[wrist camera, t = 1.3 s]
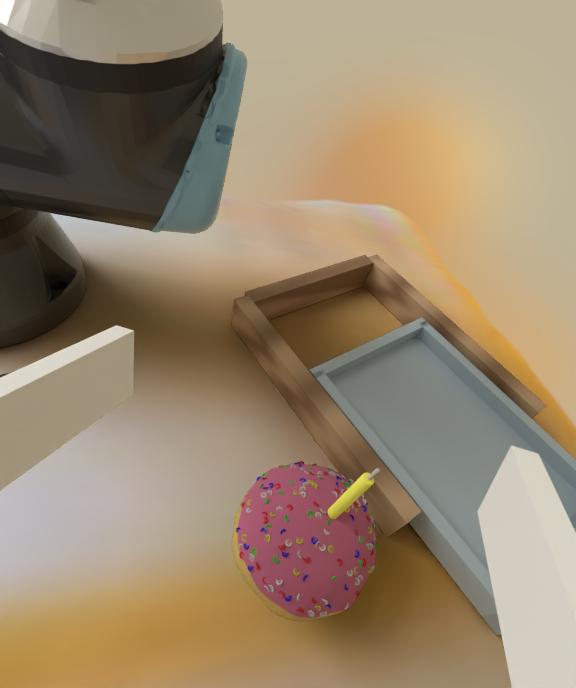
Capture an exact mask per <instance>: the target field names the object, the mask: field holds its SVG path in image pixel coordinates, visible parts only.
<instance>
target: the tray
mask: <svg viewBox="0 0 576 688" xmlns="http://www.w3.org/2000/svg"><path fill="white" fill-rule="evenodd" d="M309 372H310V373H311V374H312V375H313V377H314V378H315V379H316V380H317V382H318V383H319V384H320V385H321V387H322V388H323V389H324V390H325V392H326V393H327V394H328V395H329V397H330V398H331V399H332V400H333V401H334V403H335V404H336V405H337V406H338V408H339V409H340V410H341V411H342V413H343V414H344V415H345V416H346V418H347V419H348V420H349V421H350V423H351V424H352V425H353V426H354V428H355V429H356V430H357V431H358V433H359V434H360V435H361V436H362V438H363V439H364V440H365V441H366V443H367V444H368V445H369V446H370V447H371V449H372V450H373V451H374V452H375V454H376V455H377V456H378V457H379V459H380V460H381V461H382V462H383V464H384V465H385V466H386V467H387V469H388V470H389V471H390V472H391V474H392V475H393V476H394V477H395V479H396V480H397V481H398V482H399V484H400V485H401V486H402V487H403V489H404V490H405V491H406V492H407V493H408V495H409V496H410V497H411V498H412V500H413V501H414V502H415V503H416V505H417V506H418V507H419V508H420V510H421V512H420V513H419V514H418V515H417V516H415V517H414V518H413V519H412V520H411V521H410V522H409V523H410V525H411V526H412V527H413V529H414V530H415V531H416V532H417V534H418V535H419V536H420V538H421V539H422V540H423V541H424V543H425V544H426V545H427V547H428V548H429V549H430V550H431V552H432V553H433V554H434V556H435V557H436V558H437V559H438V561H439V562H440V563H441V565H442V566H443V567H444V569H445V570H446V571H447V572H448V574H449V575H450V576H451V578H452V579H453V580H454V581H455V583H456V584H457V585H458V587H459V588H460V589H461V590H462V592H463V593H464V594H465V596H466V597H467V598H468V599H469V601H470V602H471V603H472V605H473V606H474V607H475V608H476V610H477V611H478V612H479V614H480V615H481V616H482V618H483V619H484V620H485V621H486V623H487V624H488V625H489V627H490V628H491V629H492V630H493V632H494V633H495V634H496V635H501V629H500V624H499V619H498V614H497V609H496V604H495V599H494V594H493V589H492V584H491V579H490V573H489V568H488V563H487V558H486V553H485V548H484V543H483V538H482V533H481V528H480V522H479V517H478V512H477V511H478V509H479V507H480V506H481V504H482V502H483V500H484V498H485V496H486V494H487V492H488V490H489V488H490V486H491V484H492V482H493V480H494V478H495V476H496V474H497V472H498V470H499V468H500V466H501V464H502V462H503V461H504V459H505V457H506V455H507V453H508V451H509V449H510V447H511V446H515V447H518V448H521V449H524V450H528V451H531V452H534V453H538V454H539V456H540V458H541V460H542V462H543V464H544V467H545V469H546V471H547V473H548V475H549V477H550V479H551V481H552V484H553V486H554V488H555V490H556V492H557V494H558V496H559V498H560V501H561V503H562V505H563V507H564V509H565V511H566V513H567V515H568V517H569V520H570V522H571V524H572V526H573V528H574V530H575V532H576V459H575V458H574V457H573V456H571V455H570V454H569V453H568V452H567V451H566V450H565V449H564V448H563V447H562V446H561V445H560V444H558V443H557V442H556V441H555V440H554V439H553V438H552V437H551V436H550V435H549V434H548V433H547V432H546V431H544V430H543V429H542V428H541V427H540V426H539V425H538V424H537V423H536V422H535V421H534V420H533V419H531V418H530V417H529V416H528V415H527V414H526V413H525V412H524V411H523V410H522V409H521V408H520V407H518V406H517V405H516V404H515V403H514V402H513V401H512V400H511V399H510V398H509V397H508V396H507V395H506V394H504V393H503V392H502V391H501V390H500V389H499V388H498V387H497V386H496V385H495V384H494V383H493V382H491V381H490V380H489V379H488V378H487V377H486V376H485V375H484V374H483V373H482V372H481V371H480V370H478V369H477V368H476V367H475V366H474V365H473V364H472V363H471V362H470V361H469V360H468V359H467V358H466V357H464V356H463V355H462V354H461V353H460V352H459V351H458V350H457V349H456V348H455V347H454V346H453V345H451V344H450V343H449V342H448V341H447V340H446V339H445V338H444V337H443V336H442V335H441V334H440V333H438V332H437V331H436V330H435V329H434V328H433V327H432V326H431V325H430V324H429V323H428V322H427V321H426V320H424V319H423V318H419V319H417V320H415V321H413V322H411V323H409V324H407V325H404V326H402V327H400V328H398V329H396V330H394V331H391V332H389V333H387V334H385V335H383V336H381V337H379V338H376V339H374V340H372V341H370V342H368V343H366V344H363V345H361V346H359V347H357V348H355V349H353V350H350V351H348V352H346V353H344V354H342V355H340V356H338V357H335V358H333V359H331V360H329V361H327V362H325V363H322V364H320V365H318V366H316V367H314V368H312V369H310V370H309Z"/></svg>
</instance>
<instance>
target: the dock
mask: <svg viewBox="0 0 576 688" xmlns="http://www.w3.org/2000/svg"><path fill="white" fill-rule="evenodd" d="M362 286H364V287H365V288H366V289H367V290H368V291H369V292H370V293H371V294H372V295H373V296H374V297H375V298H376V299H377V300H379V301H380V302H381V303H382V304H383V305H384V306H385V307H386V308H387V309H388V310H389V311H390V312H391V313H392V314H393V315H394V316H395V317H396V318H397V319H398V320H399V321H400V322H401V323H402V324H403V325H407V324H409V323H411V322H413V321H415V320H417V319H419V318H423V319H424V320H426V321H427V322H428V323H429V324H430V325H431V326H432V327H433V328H434V329H435V330H436V331H437V332H438V333H440V334H441V335H442V336H443V337H444V338H445V339H446V340H447V341H448V342H449V343H450V344H451V345H453V346H454V347H455V348H456V349H457V350H458V351H459V352H460V353H461V354H462V355H463V356H464V357H466V358H467V359H468V360H469V361H470V362H471V363H472V364H473V365H474V366H475V367H476V368H477V369H478V370H480V371H481V372H482V373H483V374H484V375H485V376H486V377H487V378H488V379H489V380H490V381H491V382H493V383H494V384H495V385H496V386H497V387H498V388H499V389H500V390H501V391H502V392H503V393H504V394H506V395H507V396H508V397H509V398H510V399H511V400H512V401H513V402H514V403H515V404H516V405H517V406H518V407H520V408H521V409H522V410H523V411H524V412H525V413H526V414H527V415H528V416H529V417H530V418H533V417H534V416H535V415H537V414H538V413H539V412H540V411H542V410H543V409H544V408H545V407H546V406H547V405H546V404H545V403H543V402H542V401H541V400H540V399H539V398H538V397H537V396H536V395H534V394H533V393H532V392H531V391H530V390H529V389H528V388H527V387H525V386H524V385H523V384H522V383H521V382H520V381H519V380H518V379H516V378H515V377H514V376H513V375H512V374H511V373H510V372H509V371H507V370H506V369H505V368H504V367H503V366H502V365H501V364H500V363H498V362H497V361H496V360H495V359H494V358H493V357H492V356H491V355H489V354H488V353H487V352H486V351H485V350H484V349H483V348H482V347H480V346H479V345H478V344H477V343H476V342H475V341H474V340H473V339H471V338H470V337H469V336H468V335H467V334H466V333H465V332H464V331H462V330H461V329H460V328H459V327H458V326H457V325H456V324H455V323H453V322H452V321H451V320H450V319H449V318H448V317H447V316H446V315H444V314H443V313H442V312H441V311H440V310H439V309H438V308H437V307H435V306H434V305H433V304H432V303H431V302H430V301H429V300H428V299H426V298H425V297H424V296H423V295H422V294H421V293H420V292H419V291H417V290H416V289H415V288H414V287H413V286H412V285H411V284H409V283H408V282H407V281H406V280H405V279H404V278H403V277H402V276H400V275H399V274H398V273H397V272H396V271H395V270H394V269H393V268H391V267H390V266H389V265H388V264H387V263H386V262H385V261H384V260H382V259H381V258H380V257H379V256H378V255H374V256H371V257H367V256H366V255H363V256H360V257H357V258H354V259H350V260H347V261H344V262H341V263H337V264H334V265H331V266H328V267H324V268H321V269H318V270H315V271H311V272H308V273H305V274H302V275H298V276H295V277H292V278H289V279H285V280H282V281H279V282H276V283H273V284H269V285H266V286H263V287H260V288H256V289H253V290H250V291H247V292H245V296H244V297H241V298H238V299H234V305H233V314H232V323H231V325H232V327H233V328H234V330H235V331H236V332H237V334H238V335H239V336H240V338H241V339H242V340H243V342H244V343H245V345H246V346H247V347H248V349H249V350H250V351H251V353H252V354H253V356H254V357H255V358H256V360H257V361H258V362H259V364H260V365H261V366H262V368H263V369H264V371H265V372H266V373H267V375H268V376H269V377H270V379H271V380H272V381H273V383H274V384H275V386H276V387H277V388H278V390H279V391H280V392H281V394H282V395H283V396H284V398H285V399H286V401H287V402H288V403H289V405H290V406H291V407H292V409H293V410H294V411H295V413H296V414H297V416H298V417H299V418H300V420H301V421H302V422H303V424H304V425H305V426H306V428H307V429H308V431H309V432H310V433H311V435H312V436H313V437H314V439H315V440H316V441H317V443H318V444H319V446H320V447H321V448H322V450H323V451H324V452H325V454H326V455H327V456H328V458H329V459H330V461H331V462H332V463H333V465H334V466H335V467H336V469H337V470H338V471H339V473H340V474H341V476H342V475H345V476H346V477H347V479H346V480H348V481H349V480H350V479H351V480H353V481H354V483H355V482H356V480H357V479H358V478H359V477H360V476H361V475H362V474H364V473H370V474H371V473H372V472H373V471H374V470H375V469H377V468H379V469H380V472H379V473H378V474H376V475H375V476H374V483H373V485H372V486H371V487H369V488H368V489H367V490H366V491H365V492H364V493H363V495H364V499H365V500H366V502H367V503H368V505H367V507H368V510H369V512H370V514H371V516H372V517H373V518H374V521H375V522H376V523H377V525H378V526H379V527H380V529H381V530H382V532H383V533H384V534H385V536H386V537H387V538H388V537H389V536H390V535H392V534H393V533H395V532H396V531H397V530H399V529H400V528H402V527H403V526H404V525H406V524H407V523H408V522H410V521H411V520H412V519H413V518H414V517H415V516H417V515H418V514H419V513H420V512H421V510H420V508H419V507H418V506H417V505H416V503H415V502H414V501H413V500H412V498H411V497H410V496H409V495H408V493H407V492H406V491H405V490H404V489H403V487H402V486H401V485H400V484H399V482H398V481H397V480H396V479H395V477H394V476H393V475H392V474H391V472H390V471H389V470H388V469H387V467H386V466H385V465H384V464H383V462H382V461H381V460H380V459H379V457H378V456H377V455H376V454H375V452H374V451H373V450H372V449H371V447H370V446H369V445H368V444H367V443H366V441H365V440H364V439H363V438H362V436H361V435H360V434H359V433H358V431H357V430H356V429H355V428H354V426H353V425H352V424H351V423H350V421H349V420H348V419H347V418H346V416H345V415H344V414H343V413H342V411H341V410H340V409H339V408H338V406H337V405H336V404H335V403H334V401H333V400H332V399H331V398H330V397H329V395H328V394H327V393H326V392H325V390H324V389H323V388H322V387H321V385H320V384H319V383H318V382H317V380H316V379H315V378H314V377H313V375H312V374H311V373H310V372H309V370H308V369H307V368H306V367H305V365H304V364H303V363H302V362H301V360H300V359H299V358H298V357H297V355H296V354H295V353H294V352H293V350H292V349H291V348H290V347H289V346H288V344H287V343H286V342H285V341H284V339H283V338H282V337H281V336H280V334H279V333H278V332H277V331H276V329H275V328H274V327H273V326H272V324H271V323H270V322H269V321H268V320H271V319H273V318H276V317H279V316H282V315H284V314H287V313H290V312H293V311H296V310H298V309H301V308H304V307H307V306H309V305H312V304H315V303H318V302H320V301H323V300H326V299H329V298H332V297H334V296H337V295H340V294H343V293H345V292H348V291H351V290H354V289H356V288H359V287H362ZM350 483H352V481H350Z"/></svg>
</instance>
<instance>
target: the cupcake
mask: <svg viewBox="0 0 576 688" xmlns="http://www.w3.org/2000/svg"><path fill="white" fill-rule="evenodd" d="M301 462H302V463H303V464H302V463H301ZM314 464H315V465H314ZM280 466H281V467H280ZM336 471H337V472H336ZM379 472H380V469H379V468H377V469H375V470H374V471H373V472H372V473H371V474H370V473H364V474H362V475H361V476H360V477H359V478H358V479H357V480H356V482H355V483H354V481H353V480H351V479H350V480H349V481H348V480H346V479H347V477H346V476H345V475H342V476H341V475H340V474H339V472H338V470H332V469H329V468H326V467H322V466H317V464H316V463H313V464H311V465H310V464H304V462H303V461H300V462H299V463H295V464H290V465H286V466H283V465H279V467H278V468H274V469H271V470H270V471H268V472H267V473H265V474H263V475H262V477H258V478H257V482H256V483H255V484H254V485H253V486H252V487H251V488H250V490H249V491H248V492H247V494H246V496H245V497H244V499H243V501H242V503H241V505H240V507H239V509H238V511H237V514H236V518H235V523H234V530H233V536H232V550H233V555H234V558H235V562H236V565H237V567H238V569H239V571H240V573H241V575H242V576H243V578H244V580H245V581H246V583H247V584H248V585H249V586H250V588H251V589H252V590H253V591H254V592H255V593H256V594H257V595H258V596H259V598H260V599H261V600H262V601H263V602H264V604H265V605H266V607H267V608H268V609H269V610H270V611H271V612H273V613H275V614H277V615H279V616H281V617H283V618H286V619H289V620H294V621H306V620H312V619H317V618H322V617H327V616H330V615H334V614H338V613H340V612H342V611H344V610H346V609H348V608H349V607H350V606H351V605H352V604H353V603H354V601H355V600H356V598H357V596H358V595H359V593H360V591H361V589H362V587H363V585H364V584H365V582H366V581H367V579H368V578H369V576H370V575H371V573H372V571H373V570H374V569H375V566H374V565H375V559H376V548H377V541H376V534H375V529H374V528H375V523H373V521H374V518H373V517H372V516H371V514H370V512H369V510H368V507H367V505H368V503H367V502H366V500H365V499H364V495H363V493H364V492H365V491H366V490H367V489H368V488H369V487H371V486H372V485H373V483H374V476H375V475H376V474H378V473H379ZM258 479H259V480H258ZM350 481H352V483H350ZM372 519H373V520H372Z"/></svg>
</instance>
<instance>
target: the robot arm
mask: <svg viewBox="0 0 576 688" xmlns="http://www.w3.org/2000/svg"><path fill="white" fill-rule="evenodd" d="M222 28H223V10H222V4H221V1H220V0H0V348H1V347H6V346H10V345H14V344H17V343H20V342H23V341H26V340H29V339H31V338H34V337H36V336H38V335H40V334H43V333H45V332H46V331H48V330H50V329H52V328H53V327H55V326H56V325H58V324H59V323H61V322H62V321H63V320H65V319H66V318H67V317H68V316H69V315H70V314H71V313H72V312H73V311H74V310H75V309H76V307H77V306H78V305H79V303H80V302H81V300H82V298H83V296H84V293H85V289H86V276H85V272H84V268H83V264H82V260H81V257H80V255H79V253H78V251H77V249H76V248H75V246H74V245H73V244H72V242H71V241H70V239H69V238H68V237H67V235H66V234H65V233H64V231H63V230H62V229H61V227H60V226H59V225H58V223H57V222H56V221H55V219H54V218H53V216H52V215H51V214H50V213H54V214H59V215H65V216H71V217H77V218H82V219H88V220H94V221H99V222H105V223H111V224H117V225H122V226H128V227H134V228H139V229H145V230H150V231H152V232H160V231H170V232H181V233H191V234H195V233H200V232H202V231H205V230H207V229H208V228H209V227H210V226H211V225H212V224H213V223H214V221H215V219H216V216H217V213H218V209H219V204H220V200H221V195H222V191H223V186H224V181H225V176H226V171H227V166H228V161H229V156H230V151H231V145H232V139H233V136H234V130H235V125H236V120H237V117H238V112H239V106H240V102H241V96H242V91H243V85H244V80H245V75H246V69H247V59H246V56H245V54H244V53H243V52H241V51H239V50H237V49H236V48H235V47H234V46H233V45H231V43H226V44H225V45H222V30H223V29H222ZM133 394H134V330H130V329H127V328H124V327H120V326H117V325H116V326H114V327H111V328H109V329H107V330H105V331H103V332H100V333H98V334H96V335H94V336H91V337H89V338H87V339H85V340H83V341H80V342H78V343H76V344H74V345H72V346H69V347H67V348H65V349H63V350H60V351H58V352H56V353H54V354H52V355H49V356H47V357H45V358H43V359H41V360H38V361H36V362H34V363H32V364H29V365H27V366H25V367H23V368H21V369H18V370H16V371H14V372H11V373H7V374H3V375H0V490H2V489H3V488H4V487H6V486H7V485H8V484H10V483H11V482H13V481H14V480H15V479H17V478H18V477H20V476H21V475H22V474H24V473H25V472H26V471H28V470H29V469H31V468H32V467H33V466H35V465H36V464H37V463H39V462H40V461H42V460H43V459H44V458H46V457H47V456H49V455H50V454H51V453H53V452H54V451H55V450H57V449H58V448H60V447H61V446H62V445H64V444H65V443H67V442H68V441H69V440H71V439H72V438H73V437H75V436H76V435H78V434H79V433H80V432H82V431H83V430H84V429H86V428H87V427H89V426H90V425H91V424H93V423H94V422H96V421H97V420H98V419H100V418H101V417H102V416H104V415H105V414H107V413H108V412H109V411H111V410H112V409H113V408H115V407H116V406H118V405H119V404H120V403H122V402H123V401H125V400H126V399H127V398H129V397H130V396H131V395H133ZM477 512H478V517H479V522H480V528H481V533H482V538H483V543H484V548H485V553H486V558H487V563H488V568H489V573H490V579H491V584H492V589H493V594H494V599H495V604H496V609H497V614H498V619H499V624H500V629H501V635H502V640H503V645H504V650H505V655H506V660H507V665H508V670H509V675H510V680H511V685H512V688H576V532H575V530H574V528H573V526H572V524H571V522H570V520H569V517H568V515H567V513H566V511H565V509H564V507H563V505H562V503H561V501H560V498H559V496H558V494H557V492H556V490H555V488H554V486H553V484H552V481H551V479H550V477H549V475H548V473H547V471H546V469H545V467H544V464H543V462H542V460H541V458H540V456H539V454H538V453H534V452H531V451H528V450H524V449H521V448H518V447H515V446H511V447H510V449H509V451H508V453H507V455H506V457H505V459H504V461H503V462H502V464H501V466H500V468H499V470H498V472H497V474H496V476H495V478H494V480H493V482H492V484H491V486H490V488H489V490H488V492H487V494H486V496H485V498H484V500H483V502H482V504H481V506H480V507H479V509H478V511H477Z"/></svg>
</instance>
